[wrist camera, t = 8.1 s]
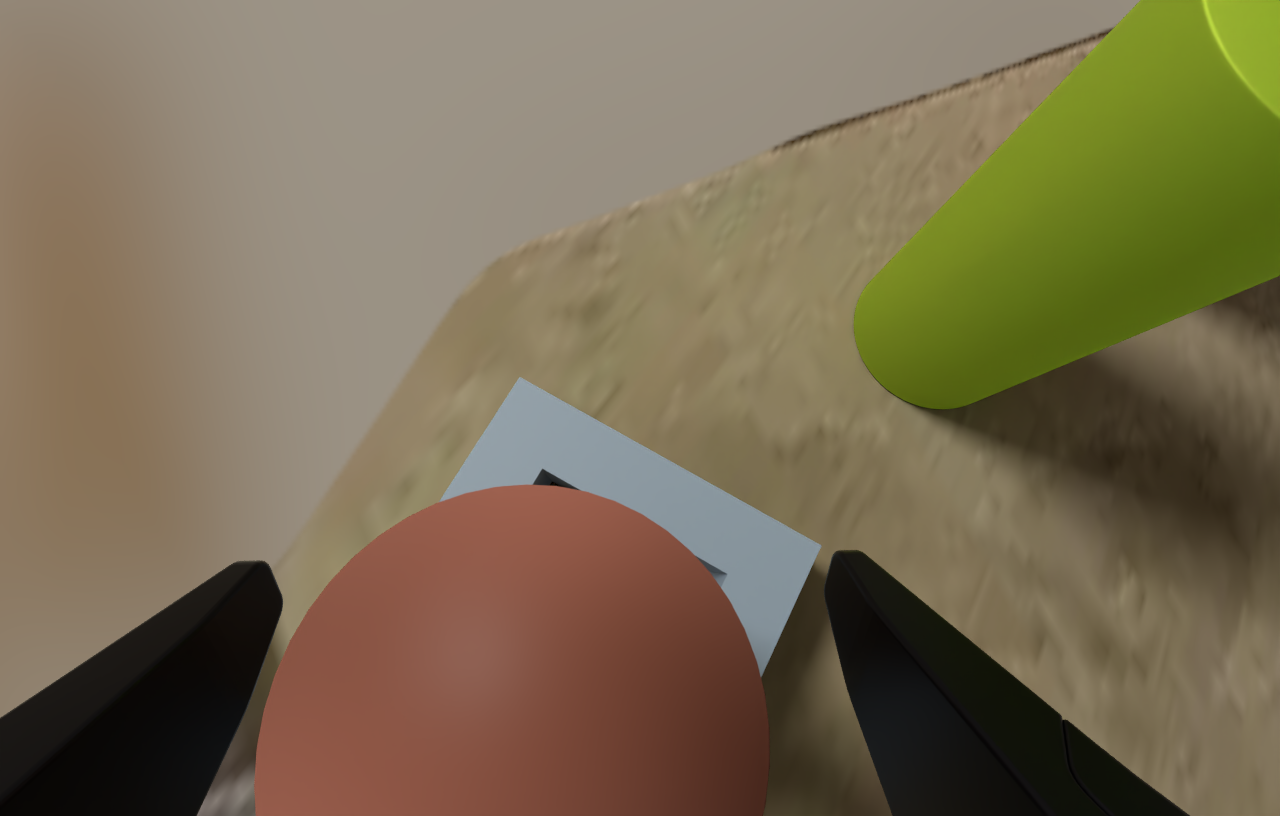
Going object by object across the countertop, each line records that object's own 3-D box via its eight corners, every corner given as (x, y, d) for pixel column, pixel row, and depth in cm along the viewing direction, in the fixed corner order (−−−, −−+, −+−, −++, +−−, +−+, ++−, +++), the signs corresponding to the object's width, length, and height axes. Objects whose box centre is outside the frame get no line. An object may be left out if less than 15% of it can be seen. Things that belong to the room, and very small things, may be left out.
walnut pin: (659, 687, 18) (789, 1036, 5) (504, 691, 18) (215, 1071, 5) (655, 530, 19) (754, 482, 6) (510, 532, 19) (290, 487, 6)
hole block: (644, 853, 17) (652, 915, 14) (358, 677, 18) (310, 701, 15) (789, 546, 19) (821, 545, 16) (532, 402, 20) (519, 376, 17)
